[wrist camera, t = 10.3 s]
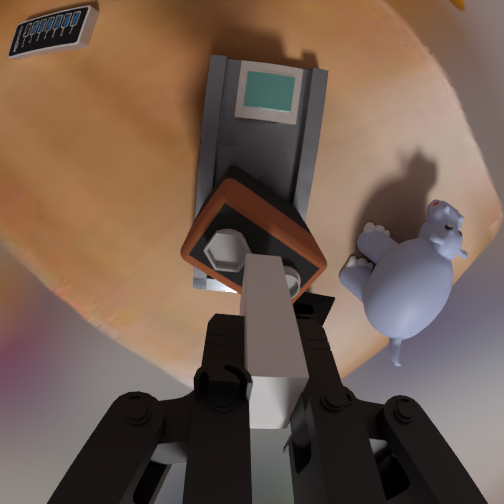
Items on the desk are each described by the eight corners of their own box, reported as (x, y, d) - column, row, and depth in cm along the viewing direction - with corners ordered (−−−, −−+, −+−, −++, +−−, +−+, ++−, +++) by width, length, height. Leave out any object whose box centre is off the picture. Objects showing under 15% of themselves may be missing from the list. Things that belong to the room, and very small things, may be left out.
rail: (213, 62, 19) (204, 43, 14) (320, 76, 20) (342, 63, 14) (196, 273, 28) (187, 309, 22) (286, 281, 28) (294, 318, 23)
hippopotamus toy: (454, 211, 25) (509, 246, 17) (395, 316, 31) (427, 369, 23) (387, 170, 24) (448, 197, 15) (324, 297, 30) (349, 361, 21)
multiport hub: (89, 48, 17) (77, 44, 15) (18, 60, 16) (6, 59, 14) (102, 11, 16) (91, 4, 14) (29, 26, 14) (17, 23, 12)
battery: (232, 161, 20) (222, 192, 11) (301, 211, 22) (338, 274, 13) (200, 206, 22) (171, 267, 13) (268, 251, 24) (282, 331, 15)
